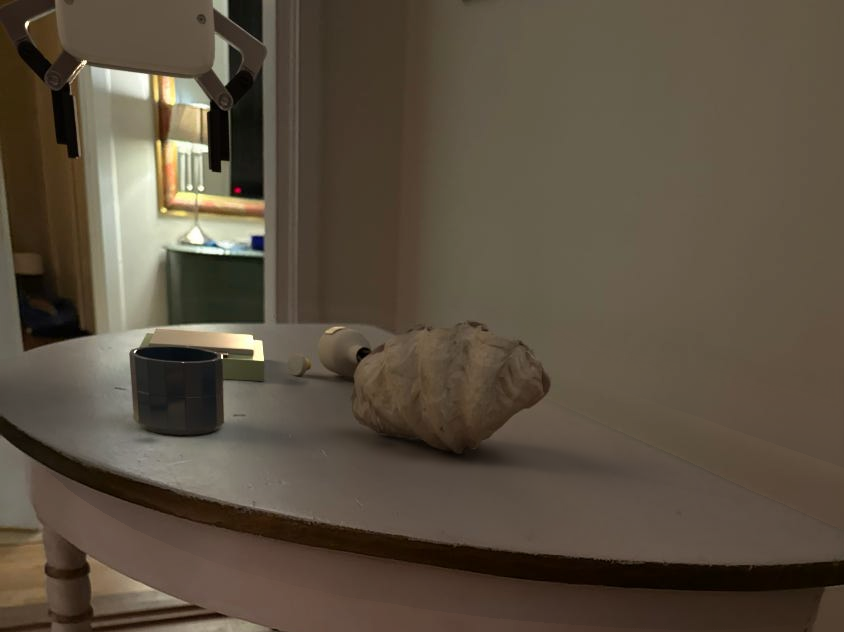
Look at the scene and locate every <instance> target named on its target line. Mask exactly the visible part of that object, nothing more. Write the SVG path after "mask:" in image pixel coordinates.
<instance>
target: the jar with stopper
mask: <svg viewBox="0 0 844 632" xmlns="http://www.w3.org/2000/svg"><path fill="white" fill-rule="evenodd" d="M372 351H373V349H372V346H371V343H370V341H369V340H368V338H367V337H366V335H364V334H363V333H362V332H360V331H358V330H355V329H351V328H345V326H333V327H330V328H328V329H326V330H325V331H324V332H323V335H322V336H321V337H320V340H319V342H318V345H317V355H318V359H319V361H320V363H321V364H322V366H323V367H324V368H325V369H326V370H327V371H329V372H332V373H335V374H337V375H340V376H343V377H348V378H352V377H353V378H354V374H355V371H356V369H357V367H358V365H359V363H360V362H361V360H362V359H364V358H365V357H366V356H367V355H368V354H370V353H371V352H372ZM287 367H288V370H289V372H290V374H291V375H292V376H303V375H305V373H306V372H307V371H309V370H310V369H311V367H312V364H311V361H310V359H307V358H306V356H304V355H303V354H301V353H292V354H291V355H290V356H289V357H288V359H287Z"/></svg>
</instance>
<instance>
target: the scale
mask: <svg viewBox="0 0 844 632" xmlns="http://www.w3.org/2000/svg"><path fill="white" fill-rule="evenodd" d="M253 337H254V336H253V334H243V333H227V332H212V331H200V330H199V331H198V330H184V329H183V330H182V329H168V328H167V329H166V328H155V329H154V331H153V333H151V332H147V333H146V334H145V336H144V338H143V339H142V341H141V343H140V345H139V347H147V346H183V347H193V348H201V349H206V350H210V351H215V352H217V353H219V354H221V355H222V356H223V380H231V381H232V380H235V381H249V382H250V381H251V382H252V381H253V382H265V357H264V347H263V341H262V340H261V339H260V340H259V339H253Z"/></svg>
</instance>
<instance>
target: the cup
mask: <svg viewBox="0 0 844 632" xmlns="http://www.w3.org/2000/svg"><path fill="white" fill-rule="evenodd" d="M128 357H129V369H130V383H131V385H130V386H131V397H132V414H133V420H134V421H135V422H136V423H138V424H139V425H140V426H141V428H142V429H144V430H147V431H149V432H152V433H156V434H162V435H168V436H169V435H170V436H197V435H206V434H210V433H213V432H215V431H216V430H218V429H219V427H220V426H222V425H223V424H224V423H225V397H224V396H225V395H224V379H223V356H222V355H221V354H219V353H217V352H215V351H210V350H206V349H201V348H193V347H183V346H147V347H140V346H138V347H135V348H132V349H130V351H129V353H128Z"/></svg>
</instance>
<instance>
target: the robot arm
mask: <svg viewBox="0 0 844 632" xmlns="http://www.w3.org/2000/svg"><path fill="white" fill-rule="evenodd" d="M54 12H55V18H56V26H57V32H58V38H59V41H60V45H61V46H62V48H63V50H62V51H61V52H60V53H59V55H58V56H57V57H56V59H55V60H54V62H53V63H51V62H50V61H49V60H48V59H47V57H46V56H45V55H44V54H43V53H42V52H41V51H40V50H39V49H38V48H37V46H36V44H35V42H34V40H33V39H32V37H31V35H30V33H29V31H28V30H29V29H28V26H29V25H30V24H31V22H34V21H36V20H38V19H41V18H43V17H45V16H47V15H49V14H52V13H54ZM0 24H1V26H2V27H3V29H4V31H5V32H6V34H7V37H8V38H9V40H10V41H11V43H12V45H13V46H14V48H15V50H16V52H17V53H18V56H19V57H20V59H21V60H22V61H23V62H24V63H25V64H26V65H27V66H28V67H29V68H30V69H31V70H32V72H34V73H35V74H36V76H37V77H38V78H39V79H40V80H41V81H42V82H43V83H44V84H45V85H46V87H48V88H49V90H50V94H51V102H52V104H51V105H52V114H53V121H54V123H53V125H54V134H55V141H56V144H57V145H62V146H66V152H67V158H68V159H73V160H74V159H77V160H78V159H79V158H82V150H81V149H82V148H81V139H80V138H81V137H80V128H79V118H78V107H77V99H76V96H75V95H74V94H73V93H72V85H71V84H72V82H73V80H75V78H76V77H77V75H78V74H79V73H80V72H81V70H82V69H83V68H84V67H85V66H88V67H92V68H98V69H106V70H113V71H121V72H127V73H135V74H143V75H152V76H159V77H169V78H175V79H186V80H187V79H188V80H192V79H193V80H194V81H195V82H196V84H197V85H198V86H199V87H200V89H201V90H202V92H203V93H204V95H205V96H206V97H207V99H208V100H209V110H208V111H206V128H207V129H206V130H207V131H206V132H207V135H206V136H207V156H208V160H207V161H208V170H210V171H211V172H212V173H217V174H221V173H222V162H230V161H231V147H230V146H231V145H230V144H231V143H230V142H231V141H230V110H231V109H233V107H235V105H236V104H237V103H238V102H239V101H240V100H241V99H242V98H243V97H244V96H245V95H246V94H247V92H248V91H250V89H251V88H252V87H253V86H254V83H255V80H256V79H257V77H258V75H259V72H260V70H261V68H262V66H263V64H264V62H265V59H266V57H267V55H268V49H267V47H266V45H265V44H264V43H262V42H261V41H260V40H259V39H257V38H256V37H255V36H253V35H252V34H250V33H249V32H248V31H246V30H245V29H244V28H242V27H241V26H239V25H238V24H237V23H235V22H234V21H232V20H231V19H230V18H228V16H227V15H225V14H224V13H222V12H220V11H219V10H218V9H217V8H215V7H214V2H213V0H12V1H9V2H7V3H5V4H2V5H0ZM216 36H217V37H219V38H220V39H221V40H223V41H225V42H226V43H227V44H228V45H230V46H231V47H232V48H233V49H235V50H236V51H238V53H240V55H241V59H242V60H241V63H240V65H239V68H238V70H237V72H236V74H235V75H234V76H232V78H231V79H230V80H229V81H228V82H227V83H226V84H225V85H224V84H223V82H222V81H221V79H220V78H219V76H218V75H217V74H216V72H215V71H214V69H213V67H214V65H215V60H216V59H215V58H216Z"/></svg>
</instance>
